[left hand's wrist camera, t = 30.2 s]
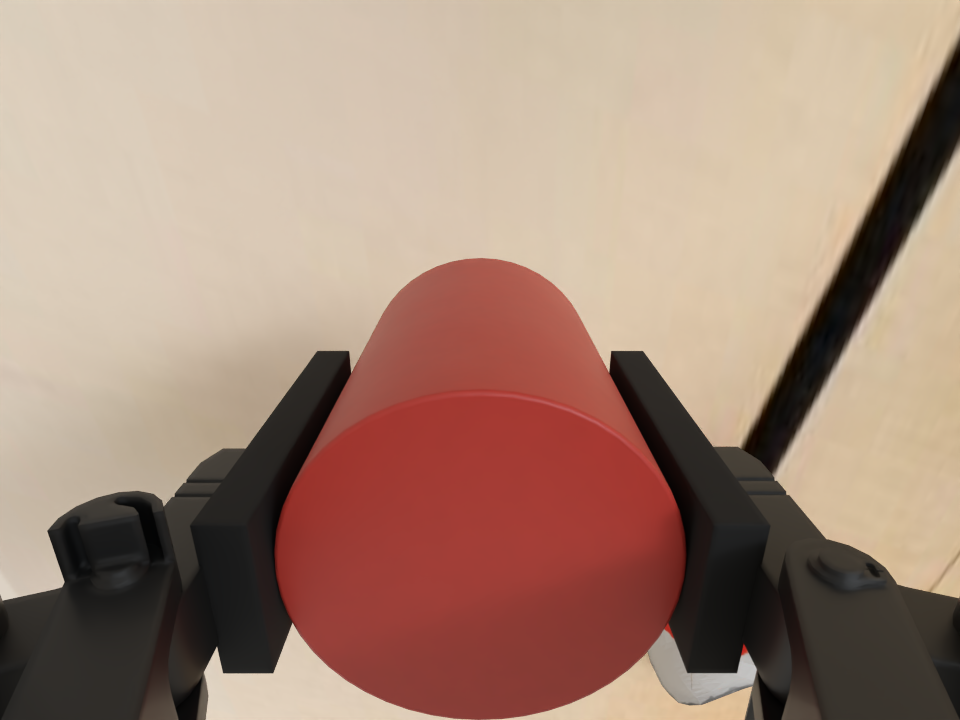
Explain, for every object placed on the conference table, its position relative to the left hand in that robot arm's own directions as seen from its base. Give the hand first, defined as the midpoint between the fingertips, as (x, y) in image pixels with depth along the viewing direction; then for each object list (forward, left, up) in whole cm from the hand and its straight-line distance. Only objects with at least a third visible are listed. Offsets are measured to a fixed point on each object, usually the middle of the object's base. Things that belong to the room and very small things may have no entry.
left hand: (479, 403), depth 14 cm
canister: (0, 0, -3) cm, 3 cm away
